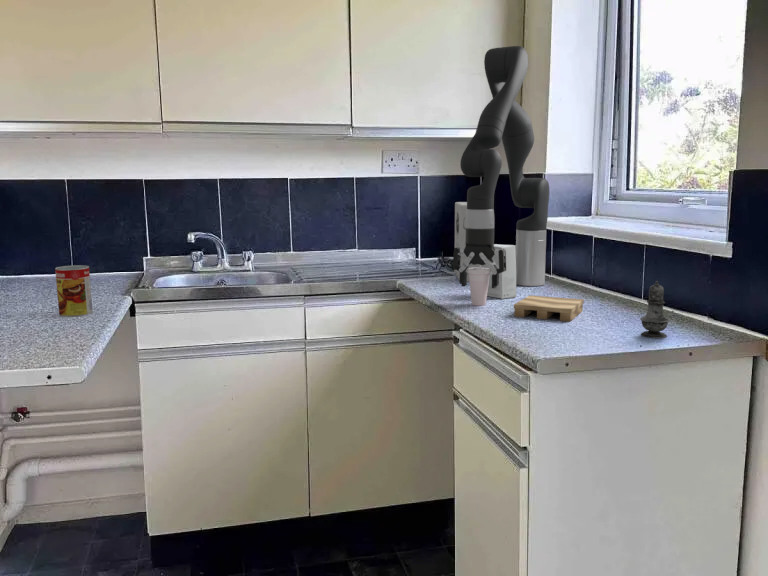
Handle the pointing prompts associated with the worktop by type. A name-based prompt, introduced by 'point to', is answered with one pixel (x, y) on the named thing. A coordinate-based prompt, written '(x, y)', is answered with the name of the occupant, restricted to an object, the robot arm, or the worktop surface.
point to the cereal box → (461, 233)
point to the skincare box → (504, 274)
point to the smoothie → (479, 284)
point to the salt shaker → (655, 314)
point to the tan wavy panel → (549, 307)
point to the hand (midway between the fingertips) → (478, 287)
